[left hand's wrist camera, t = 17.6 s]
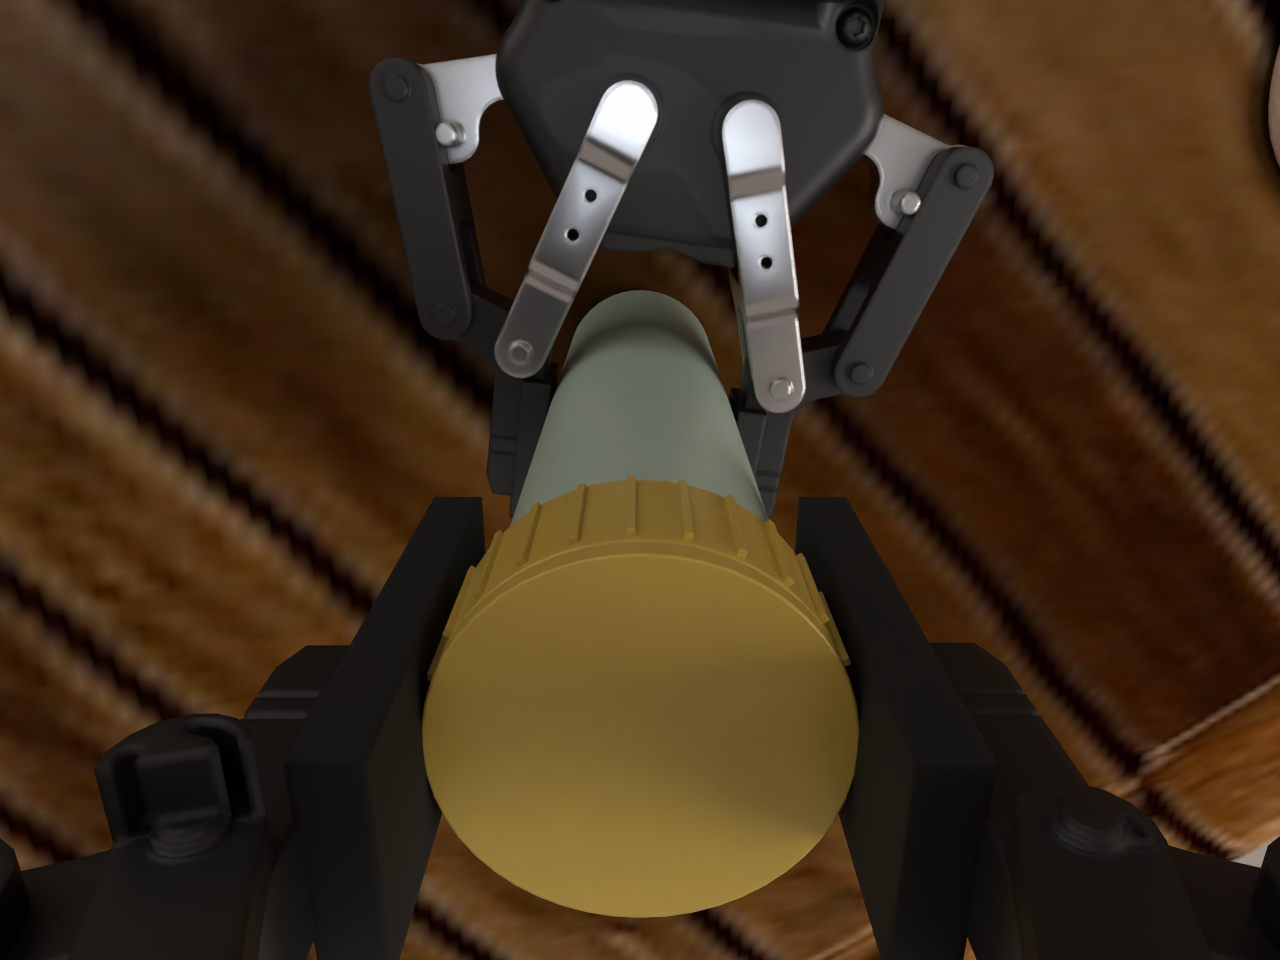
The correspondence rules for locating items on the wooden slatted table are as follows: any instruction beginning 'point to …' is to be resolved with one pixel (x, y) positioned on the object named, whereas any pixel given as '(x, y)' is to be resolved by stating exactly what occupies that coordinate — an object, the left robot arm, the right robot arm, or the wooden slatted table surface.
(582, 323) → the pale green cylindrical bottle
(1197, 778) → the wooden slatted table surface
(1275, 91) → the anatomical model
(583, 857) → the lid
